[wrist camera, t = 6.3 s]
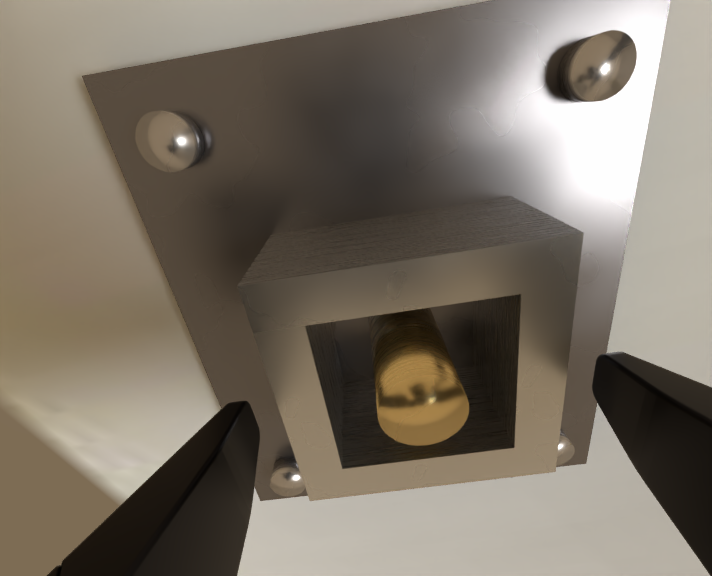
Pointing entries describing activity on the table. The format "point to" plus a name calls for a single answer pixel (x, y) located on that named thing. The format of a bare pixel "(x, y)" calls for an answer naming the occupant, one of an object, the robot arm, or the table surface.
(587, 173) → the keeper plate
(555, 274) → the end link
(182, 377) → the table surface
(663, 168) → the table surface
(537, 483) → the table surface
